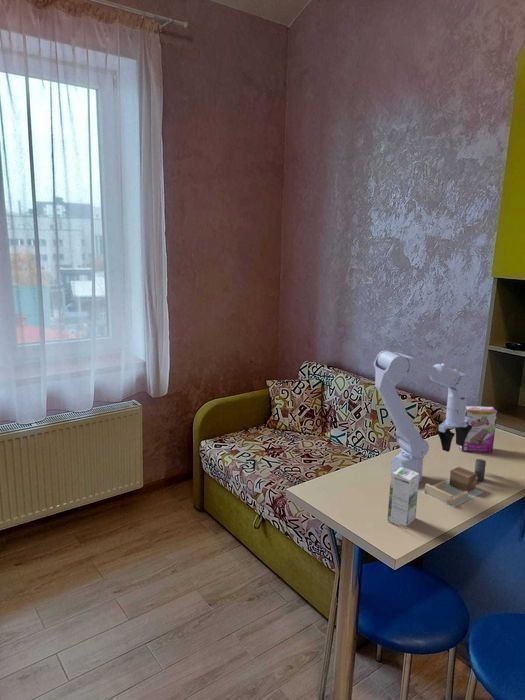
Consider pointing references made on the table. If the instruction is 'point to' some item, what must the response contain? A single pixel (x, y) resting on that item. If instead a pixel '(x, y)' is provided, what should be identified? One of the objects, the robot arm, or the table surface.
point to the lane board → (449, 493)
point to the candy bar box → (480, 429)
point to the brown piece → (467, 476)
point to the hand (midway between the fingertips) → (452, 447)
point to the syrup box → (403, 497)
